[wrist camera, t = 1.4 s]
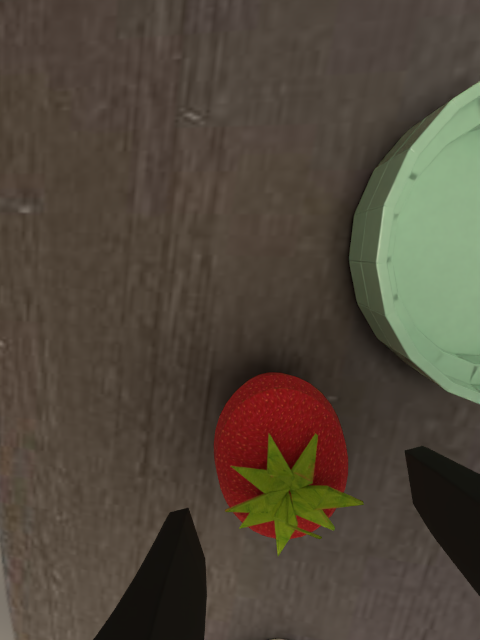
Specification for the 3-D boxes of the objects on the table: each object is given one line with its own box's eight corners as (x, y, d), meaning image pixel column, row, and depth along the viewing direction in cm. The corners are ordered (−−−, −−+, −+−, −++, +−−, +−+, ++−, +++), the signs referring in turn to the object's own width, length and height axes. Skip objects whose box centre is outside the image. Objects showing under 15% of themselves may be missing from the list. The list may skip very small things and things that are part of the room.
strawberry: (314, 337, 21) (382, 416, 11) (323, 456, 22) (390, 619, 12) (212, 348, 21) (188, 436, 11) (227, 466, 22) (218, 636, 12)
